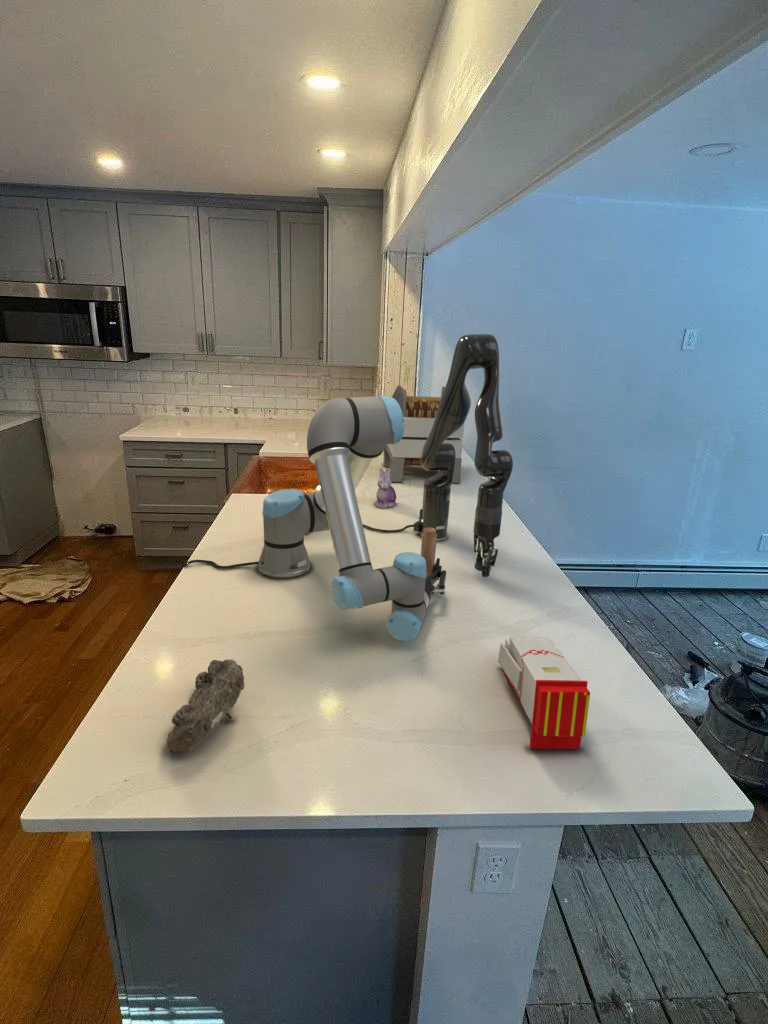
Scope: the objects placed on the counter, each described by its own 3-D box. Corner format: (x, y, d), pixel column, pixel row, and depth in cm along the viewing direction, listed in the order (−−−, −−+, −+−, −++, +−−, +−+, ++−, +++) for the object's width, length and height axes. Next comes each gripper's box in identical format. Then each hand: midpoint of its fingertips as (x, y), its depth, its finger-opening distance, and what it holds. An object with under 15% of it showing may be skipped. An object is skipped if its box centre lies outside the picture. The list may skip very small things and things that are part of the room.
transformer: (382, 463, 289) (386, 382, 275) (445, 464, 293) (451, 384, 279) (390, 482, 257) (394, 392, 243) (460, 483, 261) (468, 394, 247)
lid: (490, 565, 170) (490, 560, 169) (491, 572, 165) (491, 567, 165) (474, 564, 170) (474, 559, 170) (475, 571, 166) (475, 566, 165)
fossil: (192, 660, 117) (244, 628, 112) (224, 691, 120) (276, 661, 115) (142, 746, 98) (202, 712, 93) (182, 779, 101) (242, 748, 96)
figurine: (380, 509, 222) (382, 473, 217) (369, 501, 231) (370, 466, 226) (401, 507, 226) (404, 470, 221) (389, 499, 235) (391, 464, 230)
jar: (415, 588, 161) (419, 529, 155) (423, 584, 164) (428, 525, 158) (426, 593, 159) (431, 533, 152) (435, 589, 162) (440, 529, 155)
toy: (546, 620, 128) (599, 688, 99) (541, 675, 131) (591, 756, 102) (493, 619, 128) (531, 687, 99) (489, 674, 131) (524, 755, 101)
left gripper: (381, 606, 146) (400, 568, 167) (447, 616, 142) (458, 577, 164) (382, 580, 143) (401, 545, 165) (449, 590, 140) (460, 553, 161)
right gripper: (467, 510, 168) (462, 563, 174) (484, 528, 155) (478, 584, 161) (491, 510, 170) (485, 562, 176) (510, 527, 157) (503, 583, 162)
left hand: (429, 561), depth 164 cm, fingers closed on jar, 4 cm apart
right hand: (482, 572), depth 168 cm, fingers closed on lid, 4 cm apart
